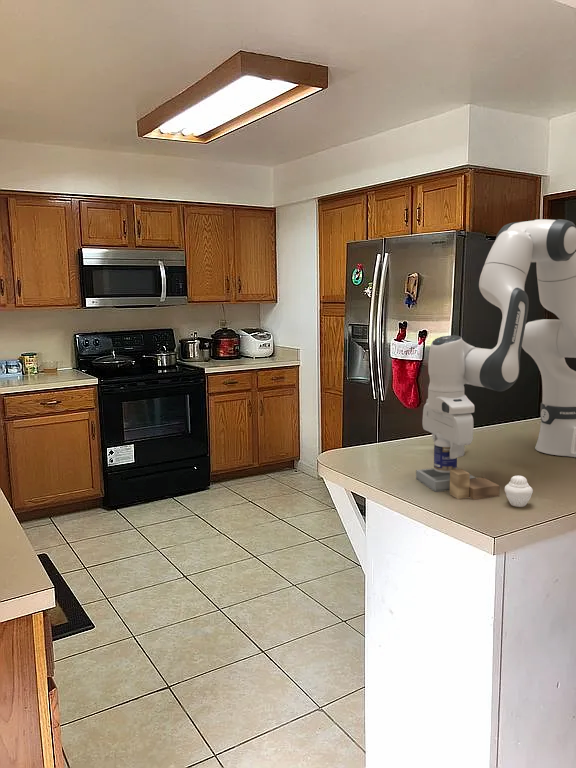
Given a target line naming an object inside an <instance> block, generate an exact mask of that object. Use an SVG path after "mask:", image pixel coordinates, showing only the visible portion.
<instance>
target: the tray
mask: <svg viewBox="0 0 576 768" xmlns="http://www.w3.org/2000/svg"><path fill="white" fill-rule="evenodd" d="M457 469H460V468H458V467H457ZM474 478H477V477H476V476H474V475H472V474H470V479H474ZM415 479H416V481H418V482H419V483H421V484H422V485H425V486H426V487H428V488H429V489H431V490H432V491H433V492H435V493H437V492H439V493H440V492H446V491H450V473H441V472H437V471H435V470H434V467H433V468H422V469H421V468H420V469H416V470H415Z"/></svg>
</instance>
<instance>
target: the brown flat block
mask: <svg viewBox="0 0 576 768" xmlns="http://www.w3.org/2000/svg"><path fill="white" fill-rule="evenodd" d="M496 497H500V484H497V483H495V482H493V481H491V480H489V479H488V478H484V477H476V478H474V479H470V483H469V498H468V499H471V500H473V501H475V500H481V499H489V498H496Z"/></svg>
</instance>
